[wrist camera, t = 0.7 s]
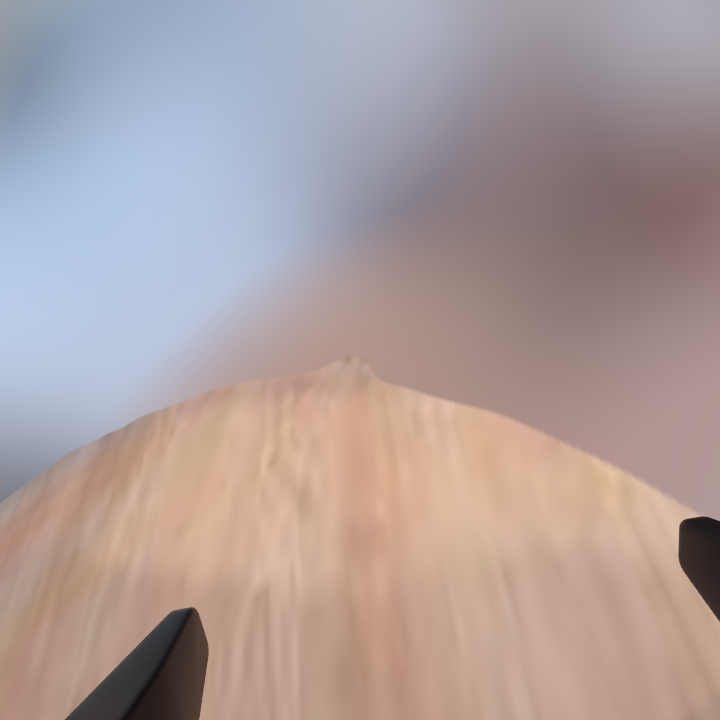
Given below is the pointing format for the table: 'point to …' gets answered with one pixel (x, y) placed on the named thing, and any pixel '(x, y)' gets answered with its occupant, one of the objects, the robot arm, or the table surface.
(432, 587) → the table surface
